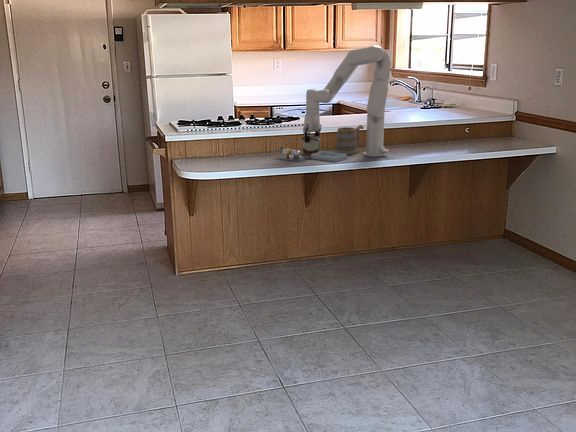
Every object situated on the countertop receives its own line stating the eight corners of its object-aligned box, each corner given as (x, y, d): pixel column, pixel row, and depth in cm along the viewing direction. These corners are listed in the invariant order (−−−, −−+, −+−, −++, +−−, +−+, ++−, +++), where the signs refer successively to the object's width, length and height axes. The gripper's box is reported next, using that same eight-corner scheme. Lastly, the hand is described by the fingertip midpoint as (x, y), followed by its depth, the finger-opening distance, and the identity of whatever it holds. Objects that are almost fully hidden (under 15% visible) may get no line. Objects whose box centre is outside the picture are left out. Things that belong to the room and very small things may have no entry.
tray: (347, 158, 334) (347, 154, 333) (335, 161, 325) (335, 157, 325) (322, 155, 344) (322, 151, 343) (310, 158, 335) (310, 154, 334)
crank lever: (301, 156, 335) (301, 148, 333) (298, 157, 331) (298, 149, 330) (282, 154, 341) (282, 146, 340) (278, 155, 338) (278, 147, 337)
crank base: (311, 158, 335) (311, 147, 334) (299, 161, 326) (298, 150, 325) (293, 156, 343) (293, 145, 341) (280, 159, 334) (280, 148, 332)
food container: (324, 154, 349) (324, 136, 346) (319, 155, 344) (319, 138, 341) (306, 152, 355) (306, 135, 352) (300, 153, 350) (300, 136, 347)
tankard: (345, 155, 345) (345, 128, 341) (331, 152, 355) (331, 126, 351) (370, 151, 356) (371, 125, 352) (356, 148, 366) (356, 123, 362)
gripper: (316, 109, 351) (315, 139, 356) (298, 112, 338) (297, 142, 343) (326, 110, 347) (325, 140, 352) (309, 113, 334) (308, 144, 339)
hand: (311, 141), depth 347 cm, fingers open, 9 cm apart
